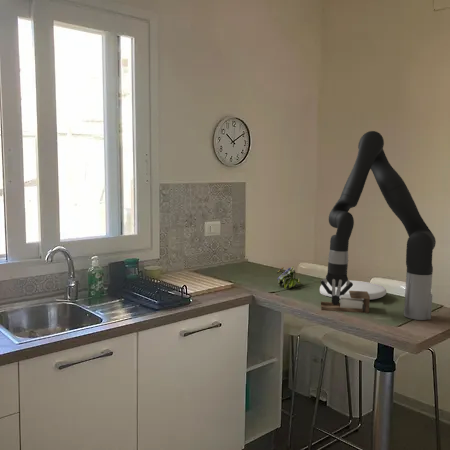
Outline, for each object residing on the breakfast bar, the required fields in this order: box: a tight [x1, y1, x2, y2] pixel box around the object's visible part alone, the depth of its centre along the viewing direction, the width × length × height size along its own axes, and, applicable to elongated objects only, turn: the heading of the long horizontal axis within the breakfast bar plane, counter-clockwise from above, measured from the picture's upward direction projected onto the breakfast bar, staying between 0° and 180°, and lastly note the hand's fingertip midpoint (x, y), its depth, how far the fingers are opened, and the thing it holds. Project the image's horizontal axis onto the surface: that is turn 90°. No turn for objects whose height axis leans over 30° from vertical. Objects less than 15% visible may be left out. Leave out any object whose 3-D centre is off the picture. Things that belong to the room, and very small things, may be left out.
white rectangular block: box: [339, 297, 364, 309], centre depth 205 cm, size 8×5×4 cm, turn 81°
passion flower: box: [276, 266, 302, 290], centre depth 242 cm, size 11×11×12 cm
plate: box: [319, 279, 387, 301], centre depth 228 cm, size 28×6×27 cm
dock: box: [320, 291, 370, 314], centre depth 205 cm, size 18×8×7 cm, turn 81°
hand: (335, 304), depth 206 cm, fingers closed
